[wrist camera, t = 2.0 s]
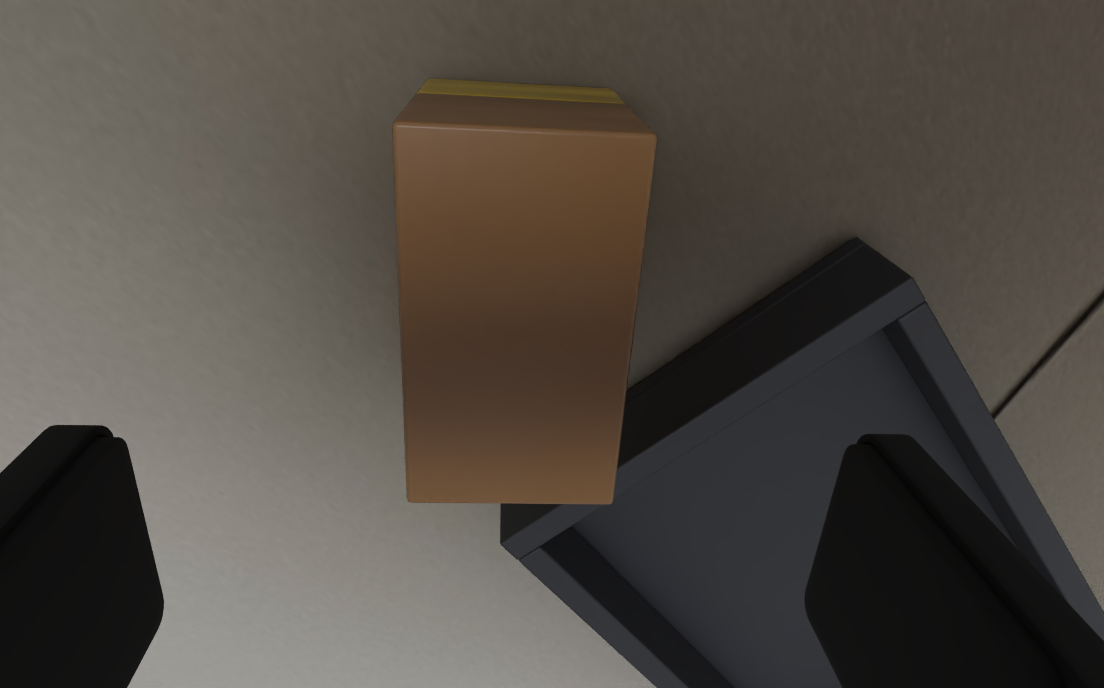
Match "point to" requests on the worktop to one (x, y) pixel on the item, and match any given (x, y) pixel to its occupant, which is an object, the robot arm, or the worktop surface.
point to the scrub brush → (517, 287)
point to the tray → (772, 479)
